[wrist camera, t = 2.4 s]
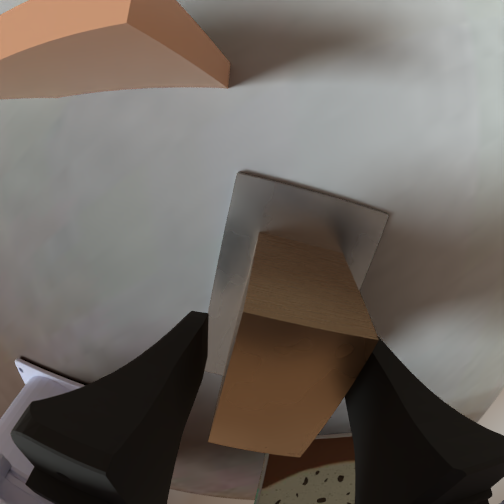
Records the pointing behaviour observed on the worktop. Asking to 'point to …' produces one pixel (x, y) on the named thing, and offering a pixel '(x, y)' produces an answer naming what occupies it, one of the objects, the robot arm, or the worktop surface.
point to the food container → (311, 474)
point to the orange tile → (104, 48)
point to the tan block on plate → (288, 313)
